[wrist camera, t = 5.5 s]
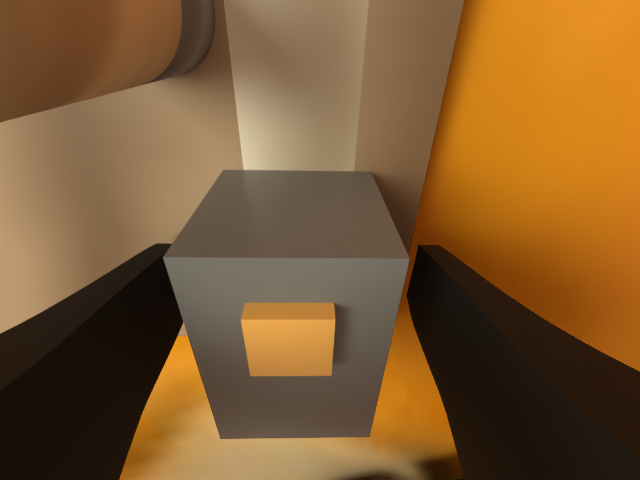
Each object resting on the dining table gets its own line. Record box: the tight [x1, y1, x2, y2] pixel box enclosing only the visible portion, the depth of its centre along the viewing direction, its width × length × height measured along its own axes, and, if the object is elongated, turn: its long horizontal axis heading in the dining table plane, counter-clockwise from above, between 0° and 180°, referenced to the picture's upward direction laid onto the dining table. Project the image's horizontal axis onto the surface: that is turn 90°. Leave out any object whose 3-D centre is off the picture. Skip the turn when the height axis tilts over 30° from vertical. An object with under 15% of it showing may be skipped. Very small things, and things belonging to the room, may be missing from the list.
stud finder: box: [163, 170, 410, 439], centre depth 8 cm, size 4×6×4 cm, turn 179°
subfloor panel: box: [0, 0, 464, 336], centre depth 9 cm, size 15×12×1 cm
